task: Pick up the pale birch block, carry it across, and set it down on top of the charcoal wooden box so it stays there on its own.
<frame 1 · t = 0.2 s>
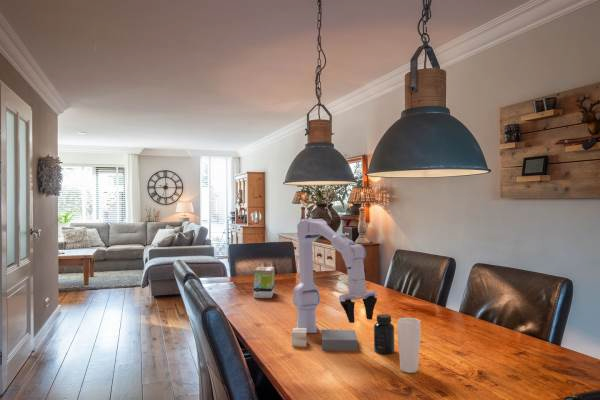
hand: (360, 320, 150), 10 cm above the table, tool pointing down, fingers open, 7 cm apart
drinking glass: (408, 371, 133), on the table
charcoal box: (338, 346, 157), on the table
tea box: (264, 295, 242), on the table
supplement bottle: (384, 351, 151), on the table
birch block: (299, 344, 158), on the table
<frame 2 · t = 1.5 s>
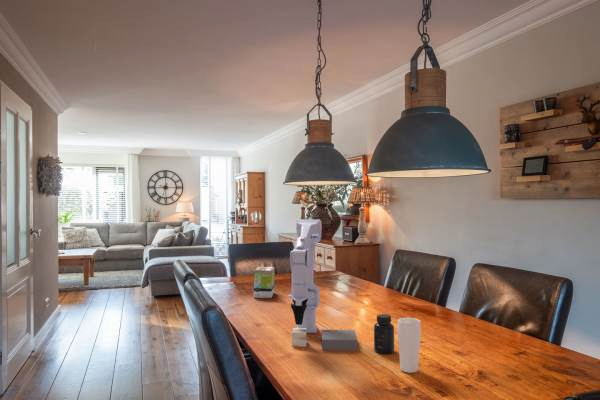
hand: (299, 321, 158), 8 cm above the table, tool pointing down, fingers open, 7 cm apart
nothing on the table moved.
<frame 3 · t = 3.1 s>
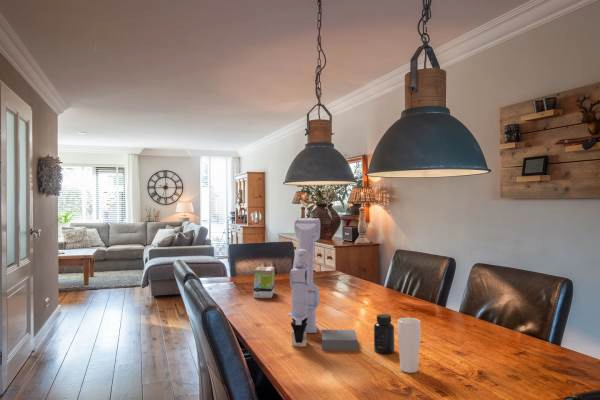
hand: (299, 340, 158), 1 cm above the table, tool pointing down, fingers closed on birch block, 5 cm apart
birch block: (299, 344, 158), on the table, touching gripper
everything else where it was.
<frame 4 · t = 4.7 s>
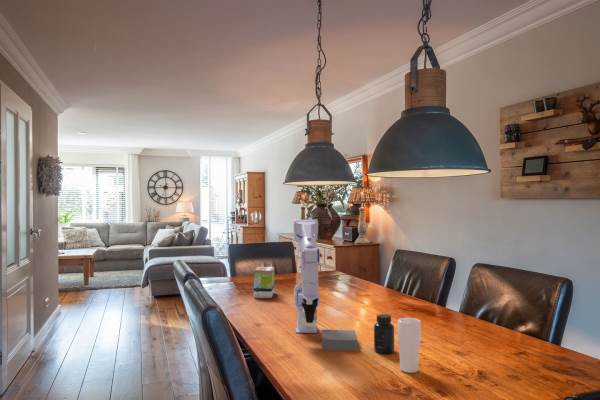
hand: (310, 320, 158), 8 cm above the table, tool pointing down, fingers closed on birch block, 5 cm apart
birch block: (309, 324, 158), point 7 cm above the table, touching gripper
everything else where it was.
when the fingers open (6 cm above the table, at t = 6.6 s): birch block drops 1 cm, resting on charcoal box.
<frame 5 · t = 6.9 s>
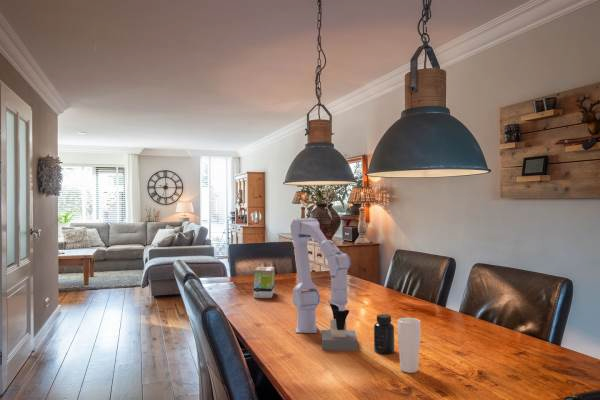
hand: (338, 326, 157), 6 cm above the table, tool pointing down, fingers open, 7 cm apart
charcoal box: (338, 346, 157), on the table, touching birch block
birch block: (338, 335, 157), point 3 cm above the table, touching charcoal box
everything else where it was.
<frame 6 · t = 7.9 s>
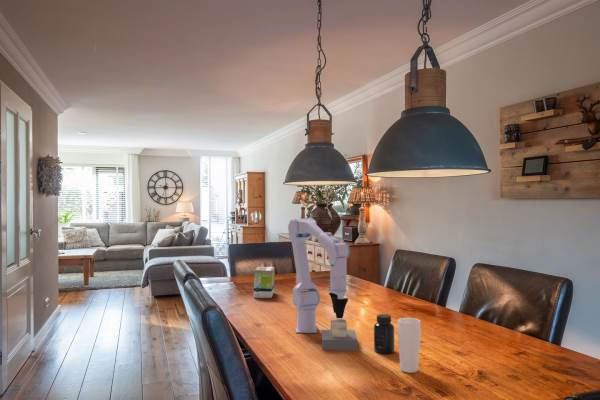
hand: (338, 315, 158), 10 cm above the table, tool pointing down, fingers open, 7 cm apart
charcoal box: (338, 346, 157), on the table
birch block: (338, 334, 157), point 4 cm above the table
everything else where it was.
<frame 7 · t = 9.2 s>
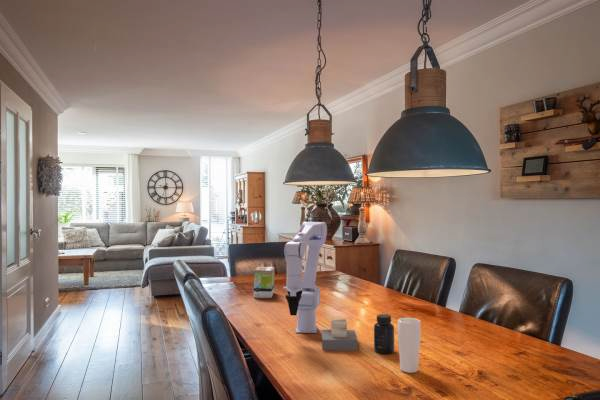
hand: (294, 312, 161), 10 cm above the table, tool pointing down, fingers open, 7 cm apart
charcoal box: (339, 346, 157), on the table, touching birch block
birch block: (338, 334, 157), point 3 cm above the table, touching charcoal box
everything else where it was.
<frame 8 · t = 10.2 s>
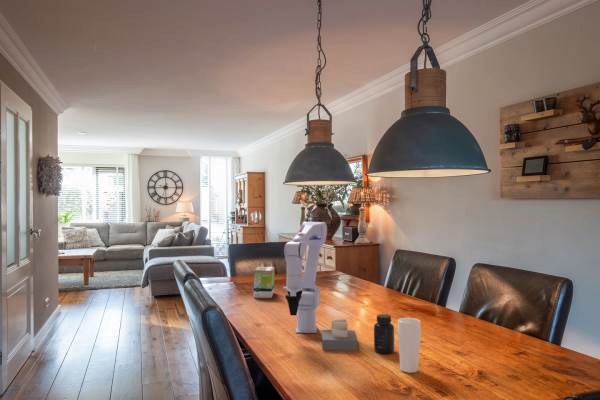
hand: (294, 312, 161), 10 cm above the table, tool pointing down, fingers open, 7 cm apart
nothing on the table moved.
at the end: birch block inside the target area on the charcoal box (0.4 cm from its centre), point 4.0 cm above the charcoal box's base; the gripper is holding nothing; birch block tilted 1° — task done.
